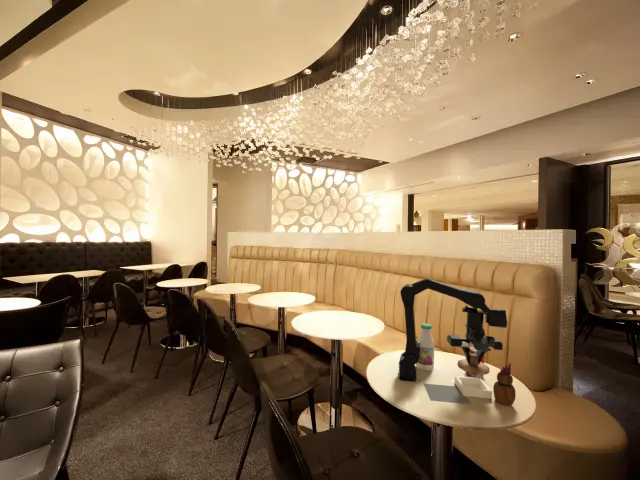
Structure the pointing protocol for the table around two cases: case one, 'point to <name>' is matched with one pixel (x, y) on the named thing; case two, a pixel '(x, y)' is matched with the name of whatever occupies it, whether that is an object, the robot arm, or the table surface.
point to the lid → (473, 366)
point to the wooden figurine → (504, 387)
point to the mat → (445, 393)
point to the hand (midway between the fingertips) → (473, 363)
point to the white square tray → (473, 387)
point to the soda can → (474, 351)
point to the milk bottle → (426, 348)
